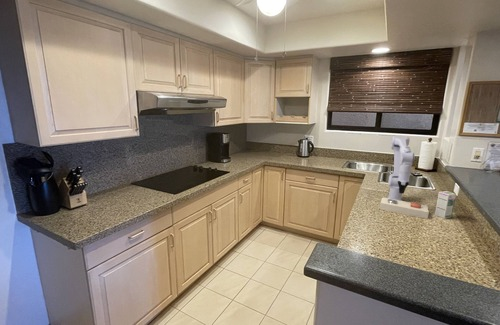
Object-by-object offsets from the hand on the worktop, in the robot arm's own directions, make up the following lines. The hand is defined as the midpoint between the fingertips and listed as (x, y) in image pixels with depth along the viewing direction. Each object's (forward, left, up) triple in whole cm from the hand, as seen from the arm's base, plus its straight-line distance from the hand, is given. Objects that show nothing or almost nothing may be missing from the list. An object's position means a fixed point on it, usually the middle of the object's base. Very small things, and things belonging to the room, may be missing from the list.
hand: (401, 193), depth 151 cm
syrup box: (0, +22, -10) cm, 24 cm away
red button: (+4, +8, -9) cm, 12 cm away
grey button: (+4, -4, -9) cm, 11 cm away
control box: (+4, +2, -9) cm, 10 cm away
